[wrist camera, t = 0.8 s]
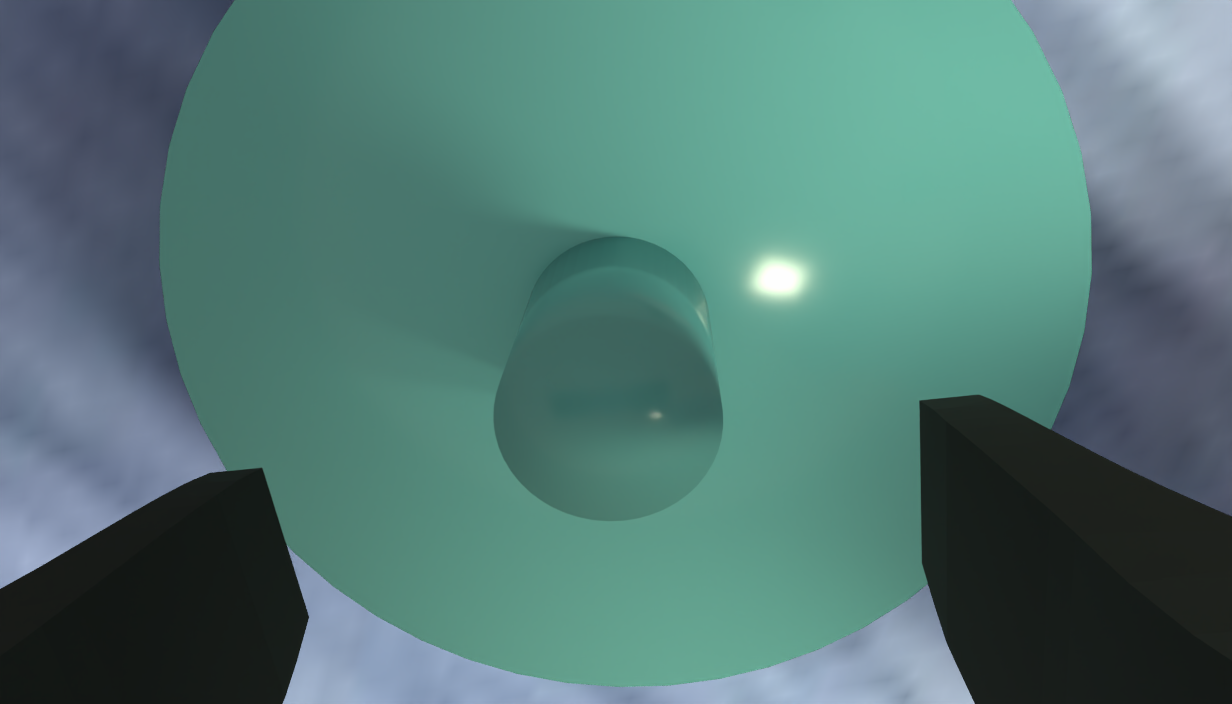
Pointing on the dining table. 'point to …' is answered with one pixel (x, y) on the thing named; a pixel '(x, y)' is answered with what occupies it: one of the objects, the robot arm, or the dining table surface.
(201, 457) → the dining table surface
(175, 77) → the dining table surface
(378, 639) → the dining table surface
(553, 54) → the lid
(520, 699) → the dining table surface
